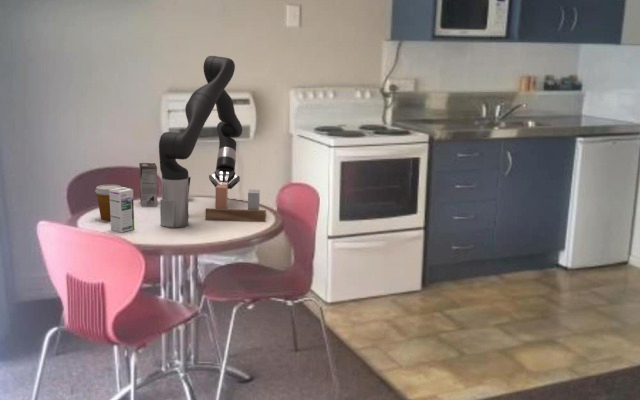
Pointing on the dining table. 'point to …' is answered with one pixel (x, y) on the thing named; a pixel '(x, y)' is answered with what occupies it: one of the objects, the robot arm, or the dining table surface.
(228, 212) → the brown wooden flat block
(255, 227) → the dining table surface
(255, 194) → the slate plug
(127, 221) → the syrup box
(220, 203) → the terracotta plug
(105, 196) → the disposable coffee cup
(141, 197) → the coffee box
